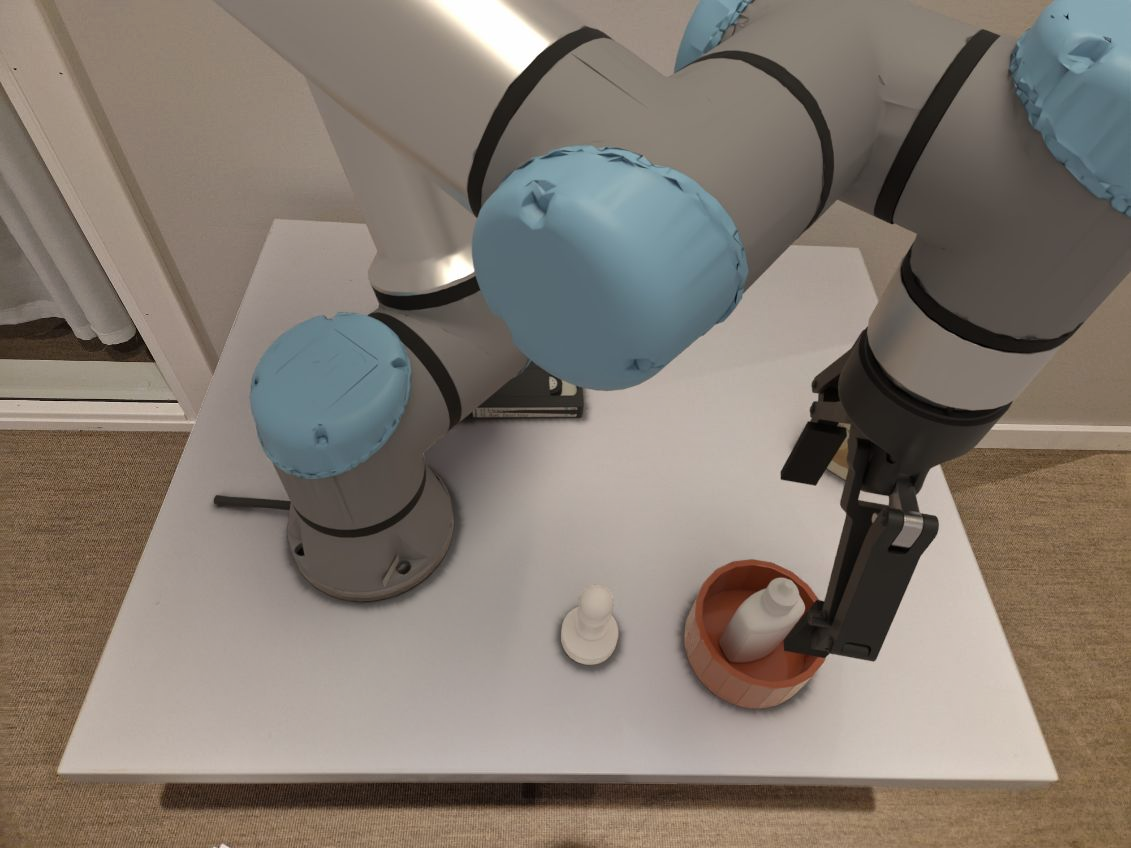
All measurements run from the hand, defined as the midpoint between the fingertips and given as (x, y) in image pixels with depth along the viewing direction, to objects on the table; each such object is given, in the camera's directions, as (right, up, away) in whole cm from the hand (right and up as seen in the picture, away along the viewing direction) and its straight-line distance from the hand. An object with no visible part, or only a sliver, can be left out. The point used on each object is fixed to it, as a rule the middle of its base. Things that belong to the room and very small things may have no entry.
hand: (800, 557), depth 52 cm
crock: (-1, -10, +13) cm, 17 cm away
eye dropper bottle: (0, -10, +13) cm, 16 cm away
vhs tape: (-22, +13, +30) cm, 39 cm away
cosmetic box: (+12, +6, +27) cm, 30 cm away
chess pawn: (-15, -10, +13) cm, 22 cm away
